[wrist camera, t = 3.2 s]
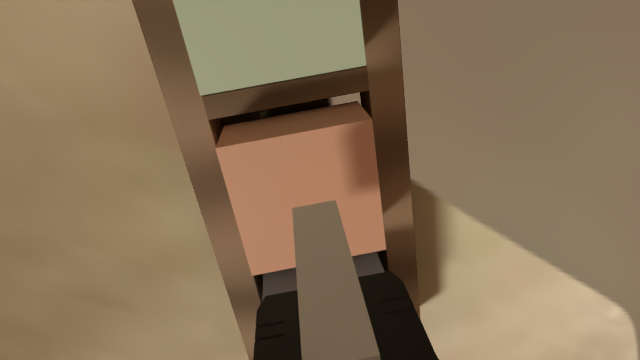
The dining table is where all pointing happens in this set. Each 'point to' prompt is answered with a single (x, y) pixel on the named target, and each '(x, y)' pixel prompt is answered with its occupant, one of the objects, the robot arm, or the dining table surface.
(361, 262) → the cap slate
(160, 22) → the button board
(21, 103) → the dining table surface
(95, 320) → the dining table surface
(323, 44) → the cap sage
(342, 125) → the cap terracotta
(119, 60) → the dining table surface
